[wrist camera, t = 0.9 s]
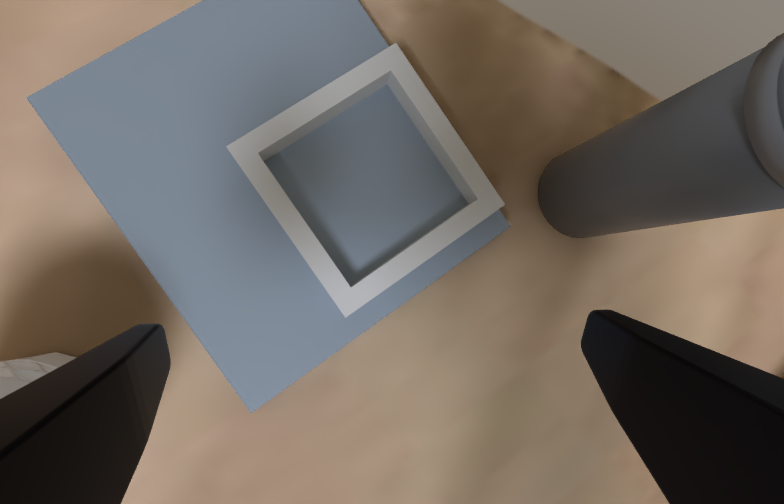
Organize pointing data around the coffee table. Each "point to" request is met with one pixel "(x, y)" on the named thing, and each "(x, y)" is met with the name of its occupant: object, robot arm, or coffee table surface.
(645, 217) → the grey tall cup
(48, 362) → the white cup
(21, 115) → the coffee table surface
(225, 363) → the grey base plate
